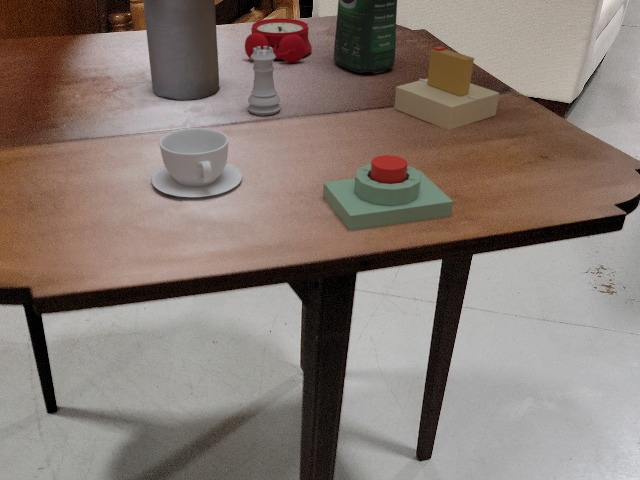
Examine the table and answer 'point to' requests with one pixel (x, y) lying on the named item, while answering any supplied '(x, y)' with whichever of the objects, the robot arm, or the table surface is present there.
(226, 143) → the teacup
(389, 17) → the coffee jar
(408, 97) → the plate
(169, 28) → the pillar candle
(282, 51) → the alarm clock
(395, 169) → the button
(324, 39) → the table surface
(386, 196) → the button block
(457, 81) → the handle
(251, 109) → the rook chess piece
